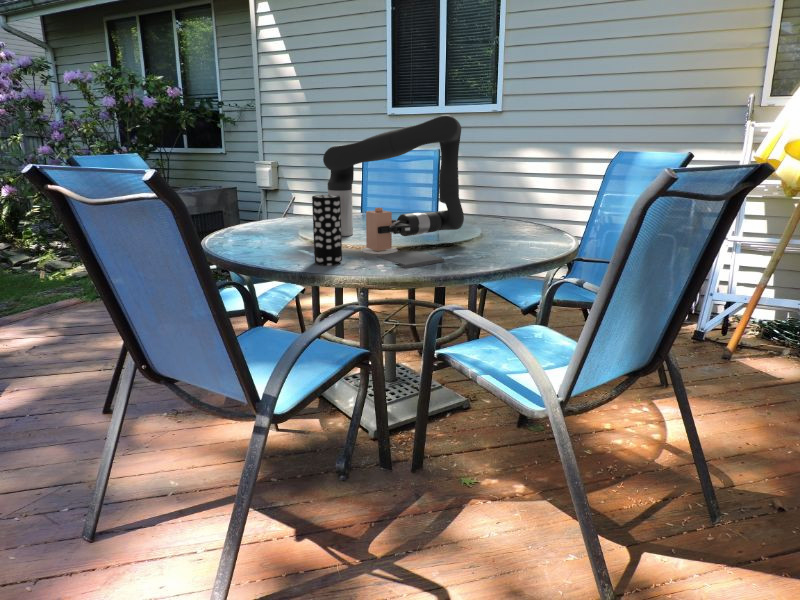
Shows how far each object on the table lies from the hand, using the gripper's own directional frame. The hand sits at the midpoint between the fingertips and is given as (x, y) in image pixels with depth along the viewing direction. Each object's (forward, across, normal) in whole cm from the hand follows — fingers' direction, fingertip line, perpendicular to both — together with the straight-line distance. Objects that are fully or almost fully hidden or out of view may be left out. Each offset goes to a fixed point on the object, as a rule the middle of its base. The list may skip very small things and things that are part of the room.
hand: (372, 228), depth 182 cm
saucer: (-3, 0, +8) cm, 8 cm away
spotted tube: (+19, +4, +8) cm, 21 cm away
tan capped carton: (-2, 0, +7) cm, 7 cm away
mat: (-3, +16, +8) cm, 18 cm away
